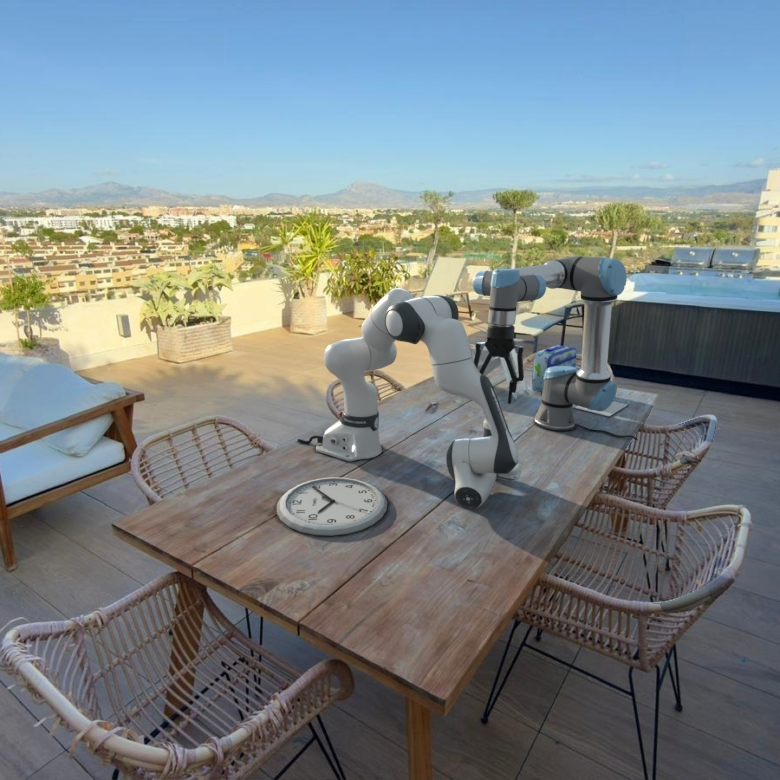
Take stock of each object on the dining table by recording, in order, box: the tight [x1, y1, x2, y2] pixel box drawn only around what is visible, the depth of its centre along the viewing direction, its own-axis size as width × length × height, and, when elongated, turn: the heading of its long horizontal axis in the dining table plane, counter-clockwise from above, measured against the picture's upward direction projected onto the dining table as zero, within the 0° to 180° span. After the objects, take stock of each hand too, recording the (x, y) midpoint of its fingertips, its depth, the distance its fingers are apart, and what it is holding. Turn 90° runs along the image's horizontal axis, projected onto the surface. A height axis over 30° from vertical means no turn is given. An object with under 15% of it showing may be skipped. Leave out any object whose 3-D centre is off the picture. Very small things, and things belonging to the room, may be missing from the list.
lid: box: [482, 418, 490, 430], centre depth 157 cm, size 6×6×2 cm
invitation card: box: [573, 400, 629, 418], centre depth 226 cm, size 21×1×15 cm
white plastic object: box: [470, 345, 531, 400], centre depth 245 cm, size 37×45×31 cm
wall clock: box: [276, 476, 388, 537], centre depth 142 cm, size 30×2×30 cm
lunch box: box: [531, 345, 577, 393], centre depth 245 cm, size 26×11×21 cm, turn 134°
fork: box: [425, 396, 439, 412], centre depth 222 cm, size 3×16×2 cm, turn 160°
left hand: (491, 455), depth 161 cm, fingers closed on jar, 5 cm apart
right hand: (495, 400), depth 155 cm, fingers open, 8 cm apart
